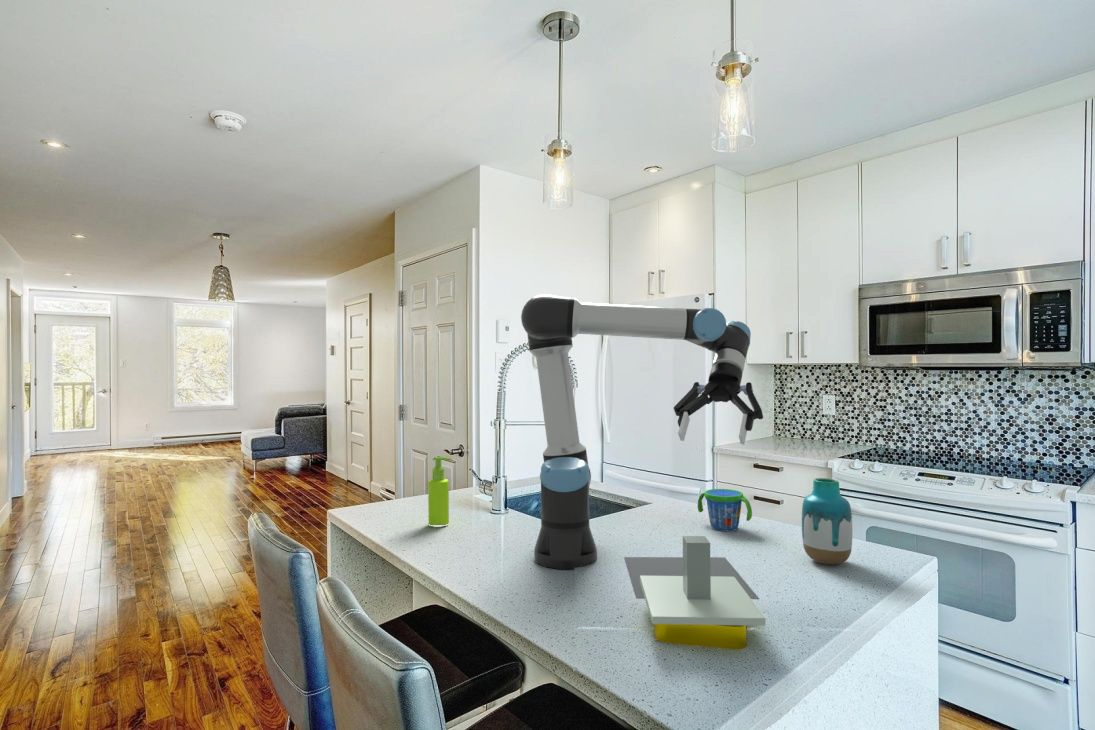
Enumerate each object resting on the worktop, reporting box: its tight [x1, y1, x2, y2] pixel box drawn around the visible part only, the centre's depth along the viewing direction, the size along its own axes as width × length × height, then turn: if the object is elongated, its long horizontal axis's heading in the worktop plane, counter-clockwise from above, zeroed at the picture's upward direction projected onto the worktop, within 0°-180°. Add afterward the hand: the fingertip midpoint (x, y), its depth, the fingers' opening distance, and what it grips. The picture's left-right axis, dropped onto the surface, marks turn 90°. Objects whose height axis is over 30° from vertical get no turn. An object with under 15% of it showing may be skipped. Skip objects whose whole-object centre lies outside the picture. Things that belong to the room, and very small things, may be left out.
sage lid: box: [640, 535, 766, 627], centre depth 99 cm, size 18×18×11 cm
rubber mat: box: [623, 556, 760, 600], centre depth 122 cm, size 24×24×1 cm
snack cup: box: [697, 488, 753, 532], centre depth 159 cm, size 16×10×10 cm
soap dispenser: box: [427, 456, 453, 525], centre depth 165 cm, size 6×7×20 cm
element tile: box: [653, 624, 748, 651], centre depth 99 cm, size 15×15×5 cm
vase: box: [801, 477, 853, 565], centre depth 131 cm, size 11×11×19 cm
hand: (710, 438), depth 126 cm, fingers open, 13 cm apart
